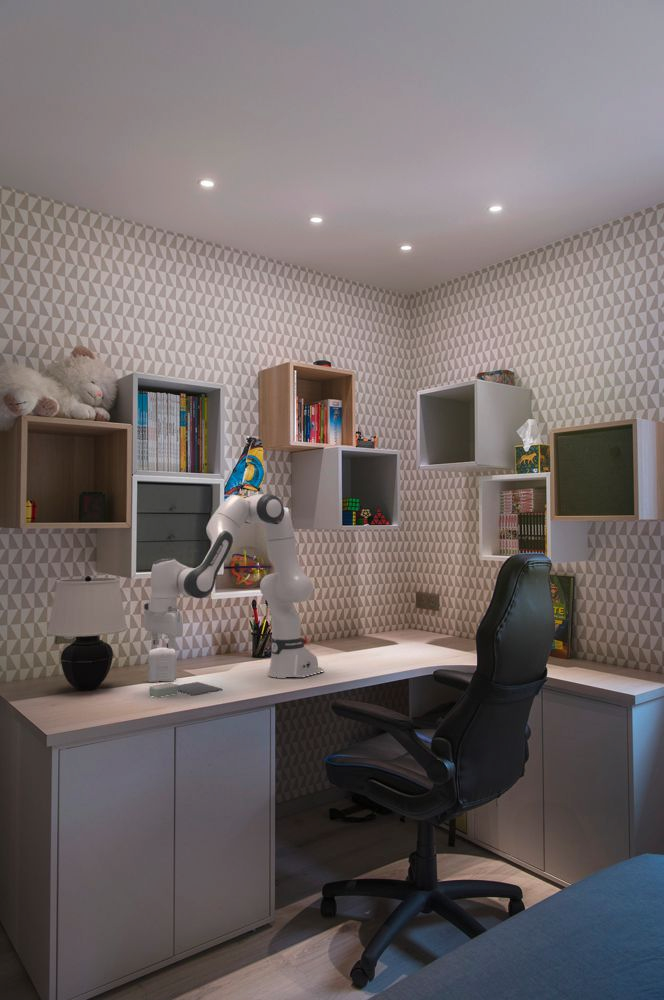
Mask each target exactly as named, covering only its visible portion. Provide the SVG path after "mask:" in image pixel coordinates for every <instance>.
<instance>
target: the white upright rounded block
mask: <svg viewBox="0 0 664 1000" xmlns="http://www.w3.org/2000/svg"><path fill="white" fill-rule="evenodd" d="M148 652H149V653H148V654H147V655H148V656H147V682H148V683H160V682H159V681H167V682H175V681H174V680H177V653H176V650H175V648H173V649H168V648H167V647H157V648H153V649H150V650H149V651H148Z"/></svg>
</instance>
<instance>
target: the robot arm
mask: <svg viewBox="0 0 664 1000" xmlns="http://www.w3.org/2000/svg"><path fill="white" fill-rule="evenodd" d="M244 524H252V525H261V524H262V526H263V527H264V530H265V540H266V548H267V550H266V551H267V558H268V561H269V562H270V563H271V564H272V565H273V567H274V568H275V569H274V570H275V571H276V572H273V573H269V574H266V575H265V576H264V577H262V578H261V581H260V583H259V590H260V593H261V595H262V596H263V597H264V598H265V600H266V603H267V606H268V609H269V611H270V612H269V613H270V617H271V634H272V635H271V638H270V649H271V650H270V651H271V656H270V663H269V664H270V665H269V670H268V673H267V676H268V677H272V678H276V677H277V679H287V678H286V677H303V676H307V675H311V674H314V673H318V672H321V671H323V670H324V671H325V669H324V668H322V667H319V661H318V658H317V656H316V655H315V654H314V653H312V652H311V651H310V650H309V649H308V648H306V647H305V644H309V642H310V639H309V638H307V637H303V638H302V636H301V633H302V632H301V627H302V625H301V617H300V614H299V613H298V612H297V611H296V609H295V607H294V604H297V603H304V602H306V601H308V600H309V599H310V598H311V597H312V595H313V592H314V584H313V582H312V579H310V578H309V577H308V576H307V574H306V573H305V571H304V569H303V568H302V564H301V562H300V561H299V556H298V553H297V552H298V551H297V546H296V539H295V537H296V536H295V530H294V526H293V522H292V518H291V515H290V513H289V512H288V511H286V510H285V509H284V504H283V502H282V501H281V499H280V498H279V497H278V496H277V495H275V494H272V493H271V494H269V493H263V494H262V493H261V494H254V495H246V496H244V497H242V496H240V495H238V494H232V495H229V496H228V497H226V499H225V500H224V501H223V502H221V504H220V505H219V506H218V508H217V509H216V510H215V512H214V513H213V514H212V516H211V517H210V519H209V521H208V522H207V525H206V528H205V529H206V535H207V537H208V539H209V540H210V541H211V546H210V548H209V550H208V552H207V554H206V555H205V557H204V559H203V561H202V563H201V564H200V565H198V566H197V567H195V568H194V567H189V566H187V565H185V564H182V563H180V562H179V561H178V560H176V558H174V557H167V558H161V559H158V560H155V561H154V562H153V564H152V567H151V572H150V573H151V574H150V588H151V593H150V596H149V597H150V598H149V599H150V600H149V601H147V602H145V603H144V604H143V606H142V607H143V610H144V613H143V627H144V629H145V631H146V632H150V637H151V639H152V646H155V647H157V646H160V639H159V634H160V635H165V636H167V639H168V642H166V648H168V649H174V645H175V644H174V643H175V642H176V639H177V637H178V636H179V637H180V636H182V635H183V631H184V629H183V627H184V625H183V617H182V614H181V612H180V611H179V608H177V607H178V606H177V605H178V603H177V602H178V594H180V595H183V596H189V597H192V598H195V599H205V598H206V597H207V596H209V595H211V593H212V592H213V589H214V588H215V584H216V580H217V575H219V572H220V569H221V568H222V566H223V563H224V562H225V561H226V559H227V556H228V554H229V552H230V551H231V549H232V547H233V546H232V545H233V542H234V540H235V538H236V536H237V535H238V533H239V531H240V530H241V528H242V527H243V525H244Z"/></svg>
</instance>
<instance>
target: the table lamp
mask: <svg viewBox="0 0 664 1000" xmlns="http://www.w3.org/2000/svg"><path fill="white" fill-rule="evenodd" d="M48 623H49V624H48V628H47V630H46V633H47V635H49V636H55V637H68V638H69V637H76V638H75V640H74V641H72V642H71V643H70V644H68V646H65V647H64V649H63V650H62V652H61V654H60V655H61V656H60V662H61V669H62V672H63V675H64V678H65V680H66V681H67V682H68V683H69V684H70V685H71V686H72V687H73V688H75V689H76V690H78V691H85V692H86V691H92V690H93V691H94V690H95V689H97V688H98V687H99V686H100V685H101V684H102V683H103V682H104V681H105V679H106V678H107V676H109V675H108V674H109V672H110V670H111V666H112V663H113V659H114V658H113V657H114V651H113V649H112V648H113V647H112V646H111V645H110V644H109V643H107V642H105V641H104V640H102V639H100V636H105V635H114V634H119V633H122V632H126V631H127V630H128V626H127V620H126V615H125V609H124V604H123V599H122V592H121V587H120V579H119V578H114V577H92V576H91V575H87V576H85V577H83V578H82V577H81V578H77V577H76V578H64V579H58V580H56V587H55V591H54V597H53V602H52V607H51V612H50V618H49V622H48Z"/></svg>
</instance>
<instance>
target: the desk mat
mask: <svg viewBox="0 0 664 1000" xmlns="http://www.w3.org/2000/svg"><path fill="white" fill-rule="evenodd" d="M177 690H178V691H177V692H179V691H180V693H182V692H183V694H185V693H187V694H186V695H188V694H190V695H189V696H192V695H194V696H198V694H199V695H204V693H205V694H209V693H208V692H210V693H214V691H215V692H220V691H219V690H221V691H223V688H220V687H217V686H215V685H210V684H206V683H204V682H199V681H194V682H190V683H189V682H188V683H182V684H177Z"/></svg>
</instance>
